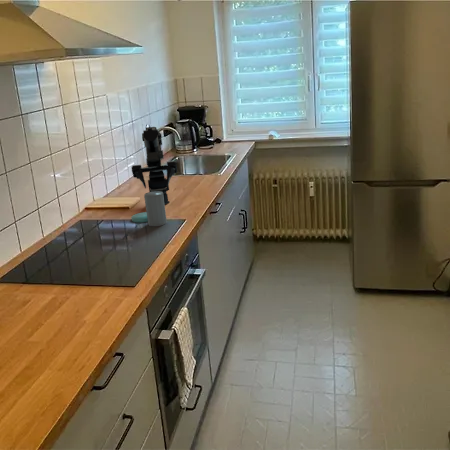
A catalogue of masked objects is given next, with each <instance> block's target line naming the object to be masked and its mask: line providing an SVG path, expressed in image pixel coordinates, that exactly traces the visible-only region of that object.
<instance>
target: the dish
mask: <svg viewBox="0 0 450 450" xmlns="http://www.w3.org/2000/svg"><path fill="white" fill-rule="evenodd" d="M130 219H131V222H133V223H136V224H138V223H148V219H147V212H146V211H143V212H138V213H135V214H133V215H131V217H130Z"/></svg>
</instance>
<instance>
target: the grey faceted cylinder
mask: <svg viewBox="0 0 450 450" xmlns="http://www.w3.org/2000/svg"><path fill="white" fill-rule="evenodd" d="M143 196H144V203H145V204H144V205H145V212H147V219H148V222H147V224H148V226H149V227H160V226H163V225H166V224H167V223H168V221H167V214H166V213H167V212H166V206H165V205H166V204H164V196H163V192H161V191H153V192H149V191H148V192H146V193H144V195H143Z"/></svg>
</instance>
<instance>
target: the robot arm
mask: <svg viewBox="0 0 450 450" xmlns="http://www.w3.org/2000/svg"><path fill="white" fill-rule="evenodd" d="M141 139H142V142H143V143H144V147H145V151H146V160H145V161H146V166H145V167H142V165H141V164H134V165H132V166H131V172H132V176H133V178H134V179H135V178H136V179H139V180H140V182H141V183H142V185H143V187H144V189H147V185H148V192H153V191H161V192H163V196H164V204H165V205H168V204H170V201H169V197H168V193H167V192H168V191H170V185H169V184H170V183H171V182H170V181H171V178H172V177H173V176H175V174H177V173H178V163H177V161H176V160H172V161H166V164H165V165H162V161H161V160H162V159H163V160H164V158H165V157H164V151H163V150H162V145H163V142H162V133H161V132H160V131H158V128H157V127H156V126H149V127H147V126H146V128H145V130H144V129H143V132H142V133H141ZM164 171H166V177H165V172H164ZM144 173H148V180H147V183H148V184H146V181H145V176H144Z"/></svg>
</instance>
